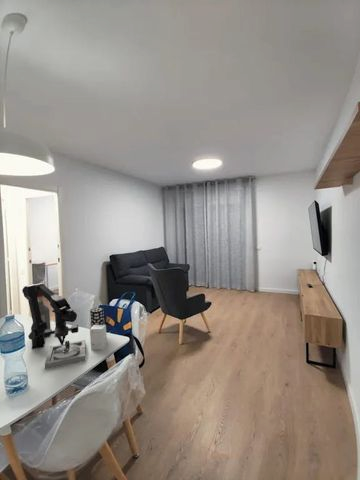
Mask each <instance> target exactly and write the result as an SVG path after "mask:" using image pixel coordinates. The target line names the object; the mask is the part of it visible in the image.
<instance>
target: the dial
mask: <svg viewBox="0 0 360 480" xmlns="http://www.w3.org/2000/svg"><path fill="white" fill-rule="evenodd" d="M70 343H71V342H70V340H64V344H65V346H62V347H60V348H58V349H56V350H55V351H54V353H53V357H54V358H55V359H57V360H58V359H63V358H68V357H73V356H76V355H77V354H78V353H79V352H80V347H79V346H78V345H74V344H71V345H70Z"/></svg>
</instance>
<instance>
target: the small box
mask: <svg viewBox="0 0 360 480" xmlns="http://www.w3.org/2000/svg"><path fill="white" fill-rule="evenodd" d="M89 337H90V338H89V339H90V350H92V351H93V350H104V349H106V347H107V345H108V337H107V325H106V324H104V325H93V326H92V327H91V326H90V329H89Z"/></svg>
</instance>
